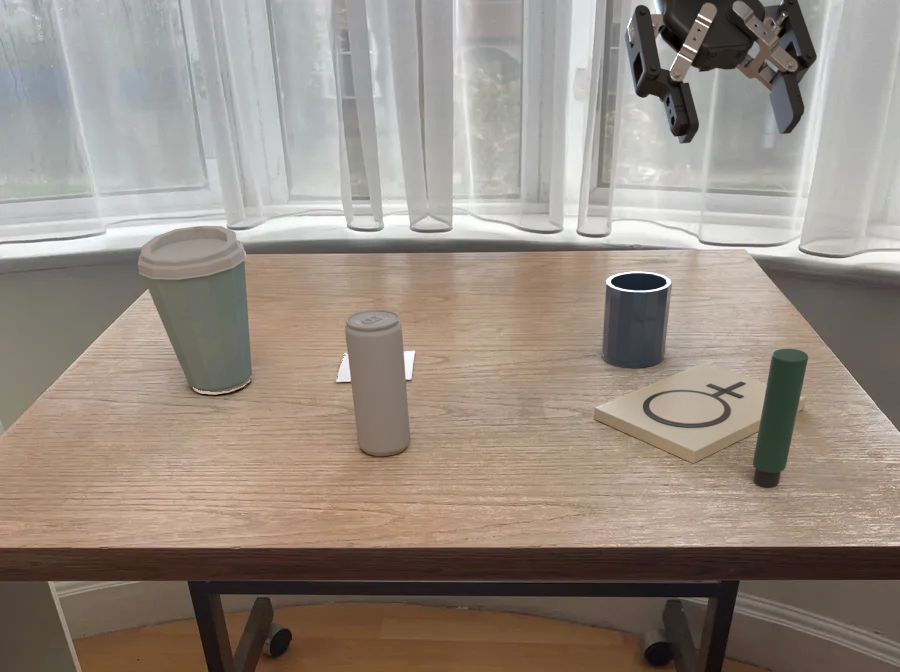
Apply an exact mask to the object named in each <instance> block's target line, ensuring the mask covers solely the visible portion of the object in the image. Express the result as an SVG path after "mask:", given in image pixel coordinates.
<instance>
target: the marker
mask: <svg viewBox="0 0 900 672" xmlns="http://www.w3.org/2000/svg"><path fill="white" fill-rule="evenodd" d="M808 360H809V355H808V353H806V352H805V351H803V350H800V349H796V348H780V349H776V350H774V351H773V352H772V354H771V359H770V364H769V365H770V366H769V371H768V377H767V381H766V383H767V387H766V392H765V398H764V403H763V409H762V414H761V420H760V425H759V431H758V432H757V436H756V442H755V448H754V454H753V460H752V467H754V468H755V469H754V473H753V474H754V475H753V482H754V483H755V484H756V485H757V486H759V487H762V488H773V487H776V486H778V484H779V483H780V479H781V472H783V471H784V470H785V469H786V468H787V464H788V463H787V462H788V457H789V453H790V448H791V443H792V438H793V433H794V429H795V424H796V420H797V419H796V418H797V414H798V412H797V410H798V405H799V400H800V395H801V396H802V390H803V385H804V380H805V376H806V371H807V367H808V366H807V365H808Z"/></svg>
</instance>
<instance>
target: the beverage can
mask: <svg viewBox="0 0 900 672" xmlns="http://www.w3.org/2000/svg"><path fill="white" fill-rule="evenodd" d="M345 324H346V325H345V327H344V331H345V332H344V334H345V340H346V341H345V342H346V349H347V350H346V351H347V353H348V359H349V368H350V376H351V382H350V384H351V393H352V400H353V407H354V408H353V409H354V416H355V418H354V419H355V427H356V436H357V444H358V446H359V448H360V449H361V450H362V451H363V452H364V453H366V454H367V455H370V456H373V457H389V456H395V455H397V454H400V453H402V452H403V451H404V450H405V449H406V448H407V447H408V446H409V444H410V442H411V431H410V418H409V405H408V404H409V403H408V391H407V390H408V389H407V380H406V376H405V363H404V351H405V350H404V337H403V327H402V321H400V315H399V314H398V312H397V311H394V310H391V309H385V308H369V309H368V308H367V309H363V310H359V311H355V312H353V313H350V314H349V315H348V316H347V317H346V318H345Z"/></svg>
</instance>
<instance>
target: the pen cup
mask: <svg viewBox="0 0 900 672" xmlns="http://www.w3.org/2000/svg"><path fill="white" fill-rule="evenodd" d="M672 286H673V283H672V279H671V278H670V277H667V276H666V275H663V274H660V273H656V272H651V271H650V272H649V271H628V272H619V273H617V274H613V275H611V276H609V277H608V278H607V279H606V280H605V294H604V309H603V310H604V311H603V324H602V325H603V327H602V342H601V359H602V360H603V361H604V362H606V363H607V364H610V365H612V366H615V367H619V368H624V369H625V368H626V369H643V368H650V367H653V366H656V365H658V364H660V363H661V362H663V360H664V358H665V353H666V352H665V351H666V344H667V343H666V342H667V335H668V324H669V314H670V306H671V298H672V297H671V294H672Z"/></svg>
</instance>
